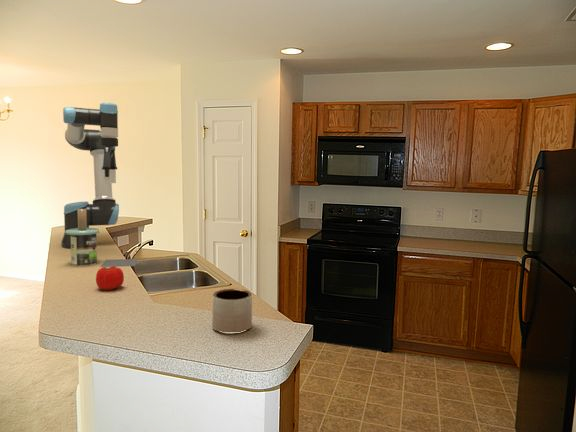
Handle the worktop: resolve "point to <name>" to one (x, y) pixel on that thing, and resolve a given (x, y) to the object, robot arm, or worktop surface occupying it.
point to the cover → (82, 225)
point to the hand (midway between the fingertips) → (110, 183)
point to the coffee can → (83, 250)
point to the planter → (232, 310)
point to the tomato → (109, 278)
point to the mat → (119, 262)
